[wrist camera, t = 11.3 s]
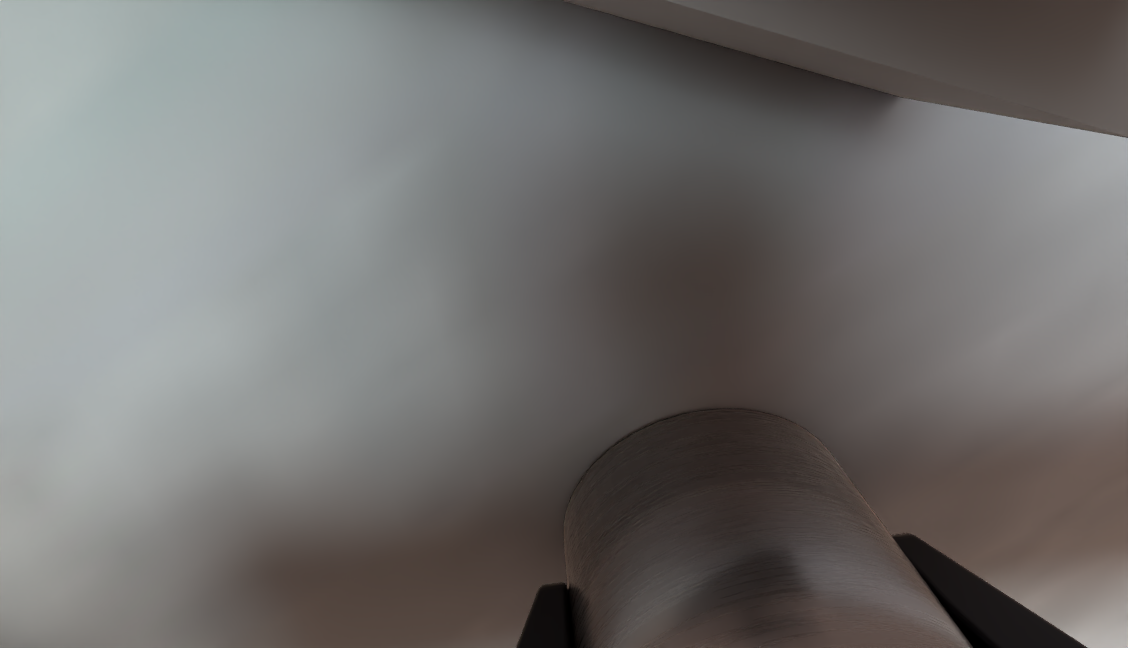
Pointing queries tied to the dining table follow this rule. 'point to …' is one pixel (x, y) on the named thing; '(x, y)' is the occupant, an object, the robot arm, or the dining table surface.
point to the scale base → (931, 49)
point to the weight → (737, 546)
